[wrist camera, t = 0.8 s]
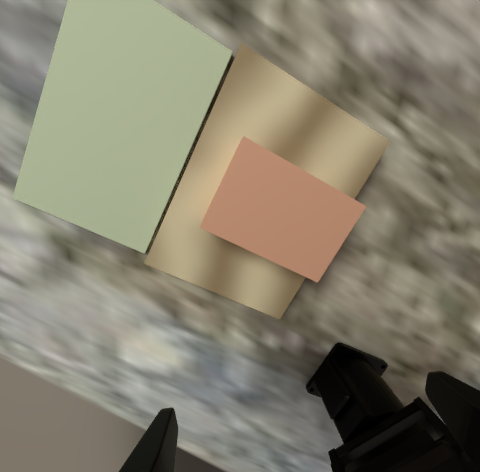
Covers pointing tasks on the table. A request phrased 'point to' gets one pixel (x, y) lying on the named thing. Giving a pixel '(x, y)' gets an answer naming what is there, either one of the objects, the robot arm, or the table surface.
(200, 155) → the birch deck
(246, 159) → the coral tile
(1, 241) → the table surface
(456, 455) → the robot arm
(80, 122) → the sage mat
